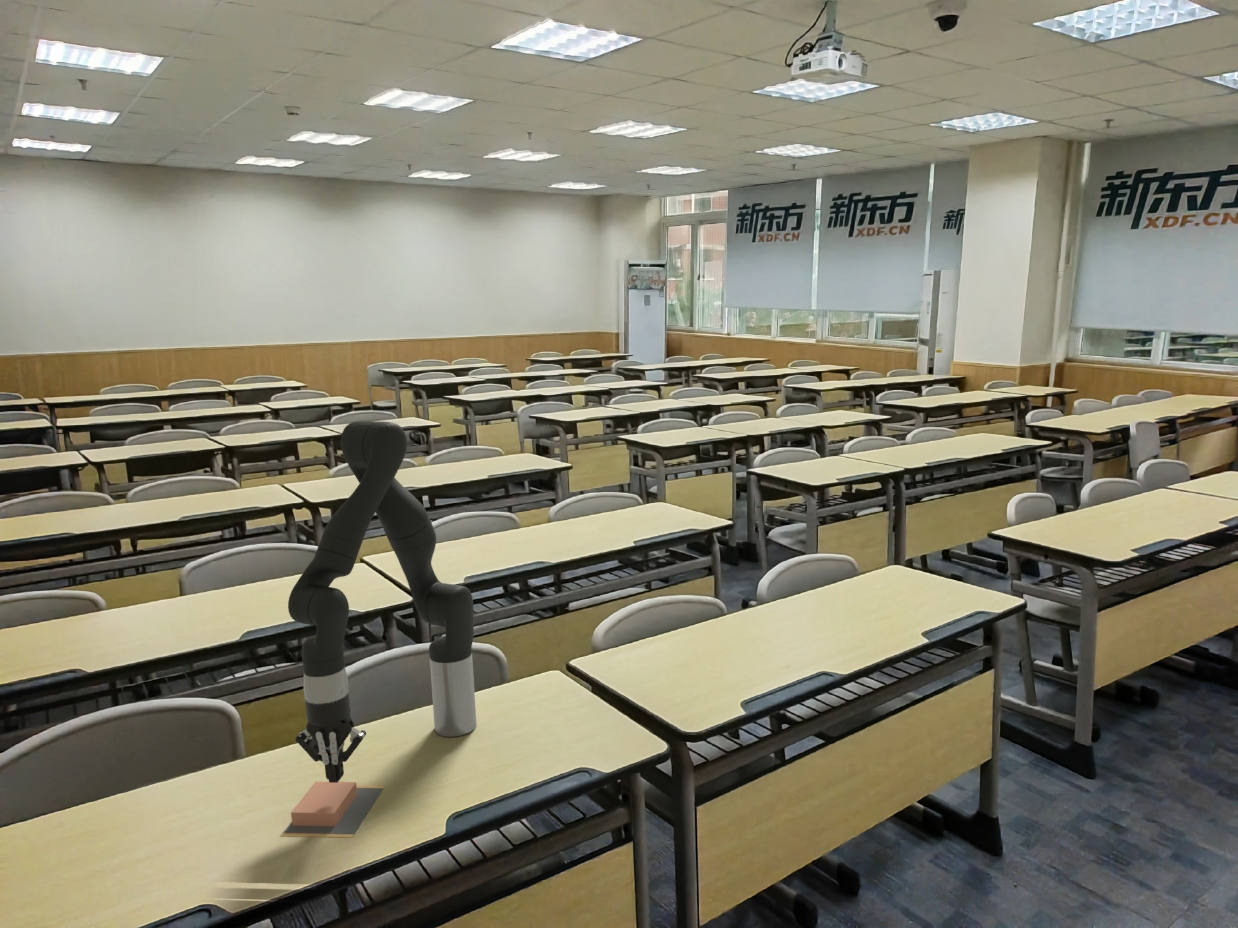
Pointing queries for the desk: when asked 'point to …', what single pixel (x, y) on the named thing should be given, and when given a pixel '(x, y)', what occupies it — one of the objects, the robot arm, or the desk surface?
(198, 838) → the desk surface
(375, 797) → the mat
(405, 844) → the desk surface
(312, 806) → the slab
